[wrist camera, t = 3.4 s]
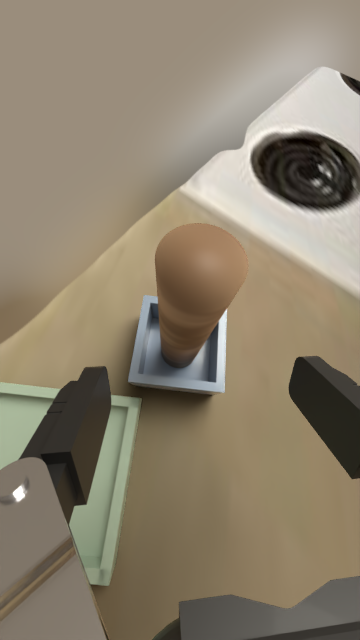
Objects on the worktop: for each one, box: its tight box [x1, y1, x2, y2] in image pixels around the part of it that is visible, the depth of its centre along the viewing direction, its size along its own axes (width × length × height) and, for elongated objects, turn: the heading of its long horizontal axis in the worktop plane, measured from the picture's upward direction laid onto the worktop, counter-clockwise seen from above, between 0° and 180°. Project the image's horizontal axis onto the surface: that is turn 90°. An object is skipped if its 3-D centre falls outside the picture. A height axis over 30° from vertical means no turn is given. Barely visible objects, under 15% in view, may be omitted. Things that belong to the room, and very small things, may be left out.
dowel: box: [155, 223, 248, 368], centre depth 15 cm, size 4×4×15 cm
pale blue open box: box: [128, 295, 227, 395], centre depth 21 cm, size 8×8×4 cm
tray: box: [0, 382, 142, 586], centre depth 18 cm, size 16×12×2 cm
